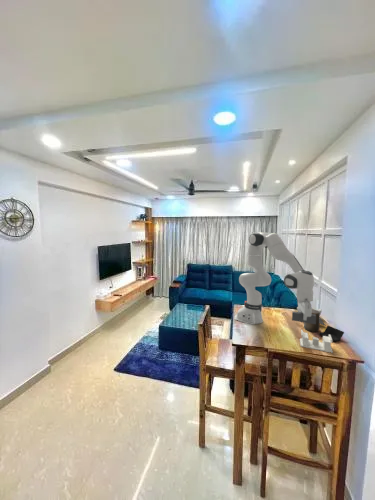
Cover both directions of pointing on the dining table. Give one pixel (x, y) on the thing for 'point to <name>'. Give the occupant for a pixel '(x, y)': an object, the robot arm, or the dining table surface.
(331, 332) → the handheld gaming console
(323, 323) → the sculpture
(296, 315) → the tall charcoal prism
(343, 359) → the dining table surface
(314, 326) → the pillar candle
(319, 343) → the display stand
